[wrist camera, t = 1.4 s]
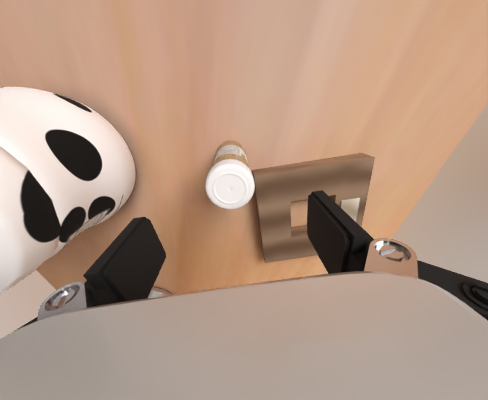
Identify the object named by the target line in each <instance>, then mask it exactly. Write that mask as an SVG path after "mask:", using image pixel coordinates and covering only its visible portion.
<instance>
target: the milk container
mask: <svg viewBox="0 0 488 400" xmlns="http://www.w3.org/2000/svg"><path fill="white" fill-rule="evenodd" d="M135 176H136V174H135V165H134V160H133V157H132V154H131V152H130V150H129V148H128V146H127V144H126V142H125V140H124V139H123V138H122V136H121V135H120V134H119V133H118V132H117V130H116V129H115V128H114V127H113V126H112V125H111V124H110V123H109V122H108V121H107V120H106V119H105V118H103V117H102V116H101V115H100V114H98V113H97V112H95V111H94V110H92V109H91V108H89V107H88V106H86V105H84V104H82V103H80V102H78V101H76V100H73V99H70V98H68V97H65V96H62V95H58V94H55V93H52V92H48V91H43V90H38V89H32V88H24V87H0V294H1V293H2V292H4V291H5V290H7V289H9V288H11V287H12V286H14V285H15V284H17V283H18V282H20V281H21V280H23V279H24V278H25V277H27V276H28V275H30V274H31V273H32V272H33V271H35V270H36V269H37V268H38V267H39V266H40V265H41V264H42V263H43V262H44V261H45V260H47V259H49V258H51V257H52V256H54V255H55V254H56V253H58V252H59V251H60V250H61V249H62V248H63V247H65V246H66V245H67V244H68V243H69V242H70V241H71V240H72V239H74V238H75V237H76V236H77V235H78V234H80V233H81V232H82V231H84V230H86V229H88V228H90V227H93V226H95V225H97V224H99V223H101V222H103V221H105V220H107V219H108V218H110V217H111V216H113V215H114V214H115V213H116V212H117V211H118V210H120V208H121V207H122V206H123V205H124V204H125V202H126V201H127V200H128V198H129V196H130V194H131V193H132V190H133V188H134V184H135Z"/></svg>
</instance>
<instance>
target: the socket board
mask: <svg viewBox="0 0 488 400" xmlns="http://www.w3.org/2000/svg"><path fill="white" fill-rule="evenodd" d="M374 159H375V158H374V157H372V156H369V155H366V154H363V153H359V154H353V155H346V156H340V157H334V158H327V159H321V160H314V161H308V162H302V163H295V164H289V165H283V166H276V167H270V168H263V169H257V170H252V171H253V179H254V184H255V195H256V203H257V211H258V219H259V226H260V234H261V242H262V250H263V256H264V260H265V263H267V262H274V261H281V260H287V259H294V258H301V257H308V256H314V255H318V254H317V252H316V250H315V249H314V247H313V245H312V243H311V242H310V240H309V238H308V235H307V225H303V226H297V227H291V216H290V202H292V201H298V200H305V199H308V195H310V194H311V192H314V191H320V190H323V191H324V192H325V193H326V194H327V195H328V196H329V197H330V198H331V199H332V200H333V201H334V202H335V203H336V204H338V205H339V206H340V207H341V208H342V209H343V210H344V211H345V212H346V213H347V214H348V215H349V216H350V217H351V218H352V219H353V220H354V221H355V222H356V223H358V224H359V225H360V226H362V221H363V215H364V210H365V205H366V200H367V195H368V190H369V185H370V179H371V174H372V169H373V164H374Z"/></svg>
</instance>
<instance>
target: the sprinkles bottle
mask: <svg viewBox="0 0 488 400" xmlns="http://www.w3.org/2000/svg"><path fill="white" fill-rule="evenodd" d="M205 188H206V193H207V195H208V197H209V199H210V200H211V201H212V202H213V203H214V204H215V205H217V206H218V207H221V208H224V209H237V208H240V207H242V206H244V205H245V204H247V203H248V202H249V200H250V199H251V198H252V196H253V193H254V189H255V184H254V179H253V176H252V173H251V171H250V169H249V166H248V162H247V158H246V154H245V150H244V148H243V147H242V145H240V144H239V143H237V142H235V141H226V142H224V143H223V144H222V145H220V147H219V148H218V151H217V154H216V157H215V160H214V162H213V165H212V168H211V169H210V171H209V173H208V176H207V179H206V184H205Z"/></svg>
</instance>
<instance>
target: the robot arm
mask: <svg viewBox="0 0 488 400" xmlns="http://www.w3.org/2000/svg"><path fill="white" fill-rule="evenodd" d="M307 235H308V238H309V240H310V242H311V243H312V245H313V247H314V249H315V250H316V252H317V254H318V256H319V258H320V259H321V261H322V263H323V265H324V266H325V268H326V270H327V272H328V274H323V275H315V276H306V277H298V278H291V279H283V280H276V281H268V282H261V283H253V284H246V285H238V286H231V287H224V288H217V289H209V290H202V291H195V292H188V293H181V294H174V295H172V294H171V293H169V292H167V291H165V290H163V289H160V288H155V287H153V285H154V283H155V280H156V278H157V276H158V274H159V271H160V269H161V267H162V265H163V263H164V260H165V258H166V253H165V251H164V248H163V246H162V244H161V242H160V240H159V238H158V236H157V234H156V232H155V229H154V227H153V225H152V223H151V221H150V220H149V219H147V218H146V217H140V218H134V219H133V220H132V221H131V222H130V223H129V224H128V225H127V227H126V228H125V229H124V230H123V231H122V232H121V233H120V234H119V236H118V237H117V238H116V239H115V240H114V241H113V242H112V243H111V245H110V246H109V247H108V248H107V249H106V250H105V251H104V253H103V254H102V255H101V256H100V257H99V258H98V259H97V260H96V262H95V263H94V264H93V265H92V266H91V267H90V268H89V269H88V271H87V272H86V273H85V274H84V275H83V276H84V277H85V278H86V279H87V281H86V282H85V283H83V282H80V281H78V282H73V283H69V284H67V285H65V286H63V287H61V288H60V289H58V290H56V291H55V292H54V293H52V294H51V295H50V296H49V297H48V298H47V299H46V300H45V301H44V302H43V303H42V305H41V306H40V309H39V313H38V317H37V318H35V319H33V320H32V321H30V322H28V323H27V324H25V325H23V326H22V327H20V328H18V329H17V330H15V331H14V332H12V333H10V334H8V335H6V336H5V337H3V338H1V339H0V400H488V283H486V282H483V281H480V280H476V279H473V278H470V277H467V276H464V275H461V274H458V273H455V272H452V271H449V270H446V269H443V268H440V267H436V266H433V265H430V264H427V263H424V262H421V261H418V260H417V256H416V253H415V252H414V251H413V250H412V249H411V248H410V247H408V246H407V245H406V244H403V243H401V242H399V241H396V240H393V239H387V238H379V239H375V240H374V239H373V238H372V237H371V236H370V235H369V234H368V233H367V232H366V231H365V230H364V229H363V228H362V227H361V226H360V225H359V224H358V223H356V222H355V221H354V220H353V219H352V218H351V217H350V216H349V215H348V214H347V213H346V212H345V211H344V210H343V209H342V208H341V207H340V206H339V205H338V204H336V203H335V202H334V201H333V200H332V199H331V198H330V197H329V196H328V195H327V194H326V193H325V192H324V191H323V190H320V191H314V192H311V194H310V195H308V214H307Z"/></svg>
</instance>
